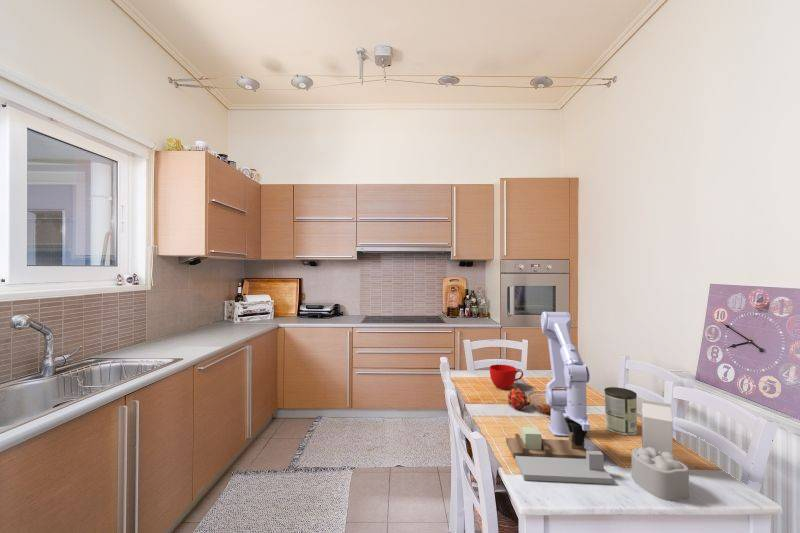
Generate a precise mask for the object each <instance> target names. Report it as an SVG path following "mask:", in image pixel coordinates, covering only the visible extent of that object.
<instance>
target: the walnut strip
mask: <svg viewBox="0 0 800 533" xmlns="http://www.w3.org/2000/svg"><path fill="white" fill-rule="evenodd" d="M505 443H506V445H507V447H508V449H509V451H510V453H511V454H510V455H511V456H512V457H513V458H515V456H527V457H551V458H575V459H586V451H588V450H587V448H585V441H584V442H583V445H582V446H576V445H575V443H574V437H573V432H569V436H568V439H549V438H548V439H547V438H542V437H541V450H532V449H527V448H526V446H525V445H524V443H523V441H522V439H521V435H520V434H519V433H514V437H505Z"/></svg>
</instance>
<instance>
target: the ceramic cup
mask: <svg viewBox="0 0 800 533" xmlns="http://www.w3.org/2000/svg"><path fill="white" fill-rule="evenodd" d="M519 372H520V373H521V375H520V376H519V377H518V378H516V375H517V373H519ZM489 375H490V379H491V382H492V384H493V385H494V386H495V388H497V389H498V388H500V389H499V390H509V389H510V388H511V387H512V386H513V384H514V383H515V382H517V381H519V380H521V379H522V378H523V376H524V372H523V370H522V369H517V368H516V367H515V366H513V365H509V364H491V365H490V366H489Z"/></svg>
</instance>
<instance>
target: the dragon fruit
mask: <svg viewBox="0 0 800 533" xmlns="http://www.w3.org/2000/svg"><path fill="white" fill-rule="evenodd" d="M507 399H508V400H507V402H508V406H512V408H514V410H516V411H520V409H522V410H524V409H525V408H526V407H528V406H530V405H531V402H530V401H529V399H528V397H527V395H526V391H523V390H522V389H521V388H513V389H511V390H510V391H509V393H508V394H507Z"/></svg>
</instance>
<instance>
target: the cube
mask: <svg viewBox="0 0 800 533" xmlns="http://www.w3.org/2000/svg"><path fill="white" fill-rule="evenodd" d="M520 429H521V430H520V431H521V432H520V437H521V439H522V441H523V443H524V445H525V446H526V448H527V449H532V450H541V438H542V433H541V432H540V430H539V429H538V427H536V426H535V427H533V426H521V427H520Z"/></svg>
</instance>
